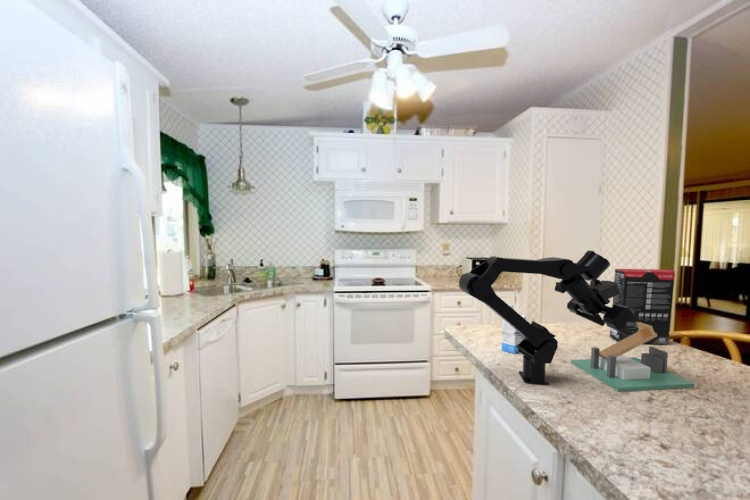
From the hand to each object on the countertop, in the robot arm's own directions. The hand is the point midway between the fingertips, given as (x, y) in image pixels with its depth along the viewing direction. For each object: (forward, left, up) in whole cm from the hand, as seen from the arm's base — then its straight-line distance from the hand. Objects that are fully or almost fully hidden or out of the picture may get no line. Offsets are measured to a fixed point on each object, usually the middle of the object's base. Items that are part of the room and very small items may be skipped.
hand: (615, 329), depth 95 cm
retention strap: (+1, -4, -5) cm, 7 cm away
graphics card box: (+32, -24, -14) cm, 42 cm away
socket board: (+1, -4, -13) cm, 14 cm away
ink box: (+17, +24, -14) cm, 32 cm away
